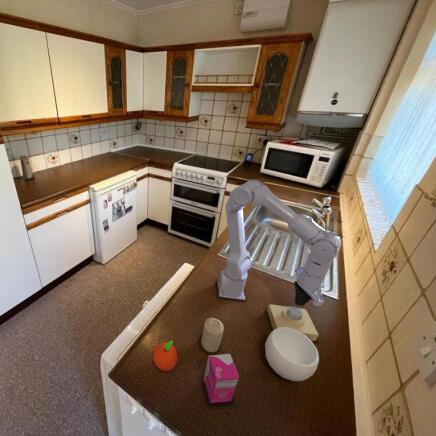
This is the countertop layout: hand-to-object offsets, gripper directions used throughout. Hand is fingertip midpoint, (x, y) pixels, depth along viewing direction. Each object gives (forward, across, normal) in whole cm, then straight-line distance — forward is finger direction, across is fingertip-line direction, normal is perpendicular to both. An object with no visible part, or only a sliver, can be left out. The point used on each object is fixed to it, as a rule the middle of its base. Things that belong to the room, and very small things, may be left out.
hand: (299, 303), depth 75 cm
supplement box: (+10, -25, +26) cm, 37 cm away
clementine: (+10, -20, +40) cm, 46 cm away
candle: (+10, -12, +27) cm, 31 cm away
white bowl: (+10, -15, +6) cm, 19 cm away
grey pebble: (+5, 0, 0) cm, 5 cm away
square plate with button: (+10, 0, 0) cm, 10 cm away
